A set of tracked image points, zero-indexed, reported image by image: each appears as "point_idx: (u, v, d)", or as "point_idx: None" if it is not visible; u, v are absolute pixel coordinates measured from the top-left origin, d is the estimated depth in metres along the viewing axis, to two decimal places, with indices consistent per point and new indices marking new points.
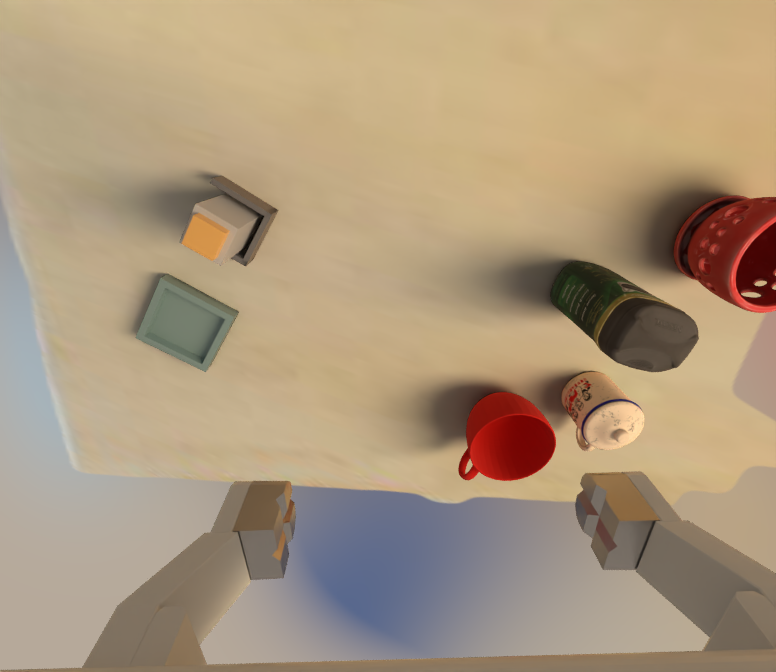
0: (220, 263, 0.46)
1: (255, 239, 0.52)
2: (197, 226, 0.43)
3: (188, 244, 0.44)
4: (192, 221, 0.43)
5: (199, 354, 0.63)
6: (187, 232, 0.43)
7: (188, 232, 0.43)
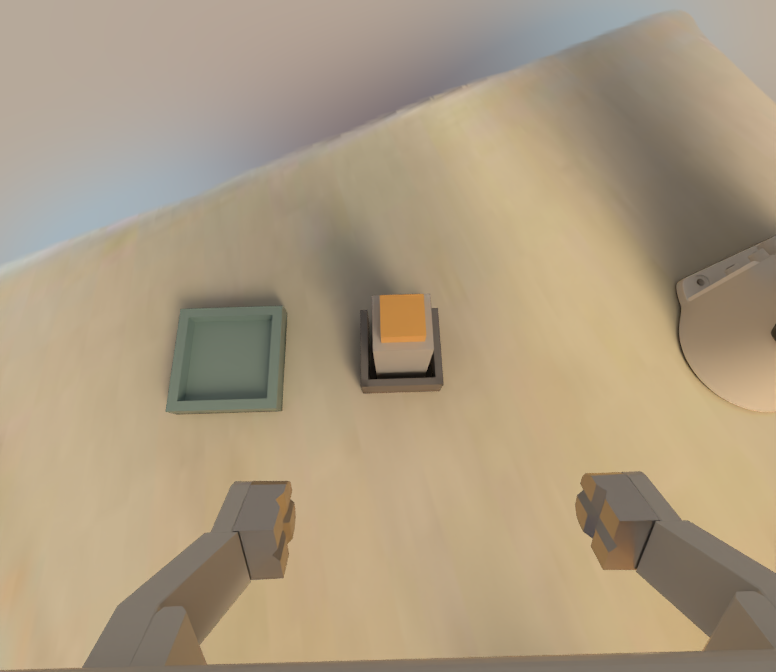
0: (375, 349, 0.33)
1: (402, 380, 0.39)
2: (413, 303, 0.32)
3: (383, 302, 0.32)
4: (415, 295, 0.33)
5: (189, 392, 0.42)
6: (398, 296, 0.33)
7: (398, 297, 0.33)
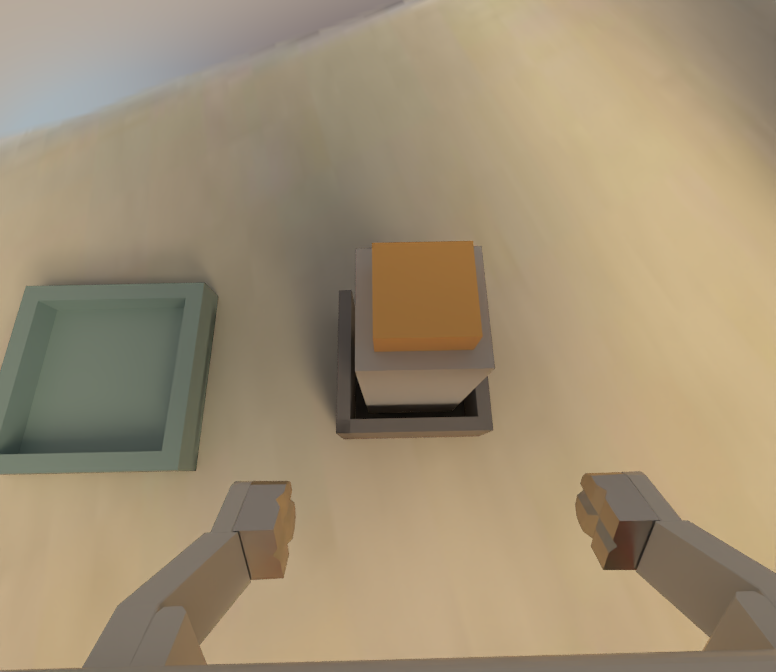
0: (361, 367, 0.14)
1: (414, 422, 0.21)
2: (449, 261, 0.14)
3: (381, 259, 0.14)
4: (453, 245, 0.14)
5: (29, 434, 0.23)
6: (414, 245, 0.14)
7: (416, 247, 0.14)
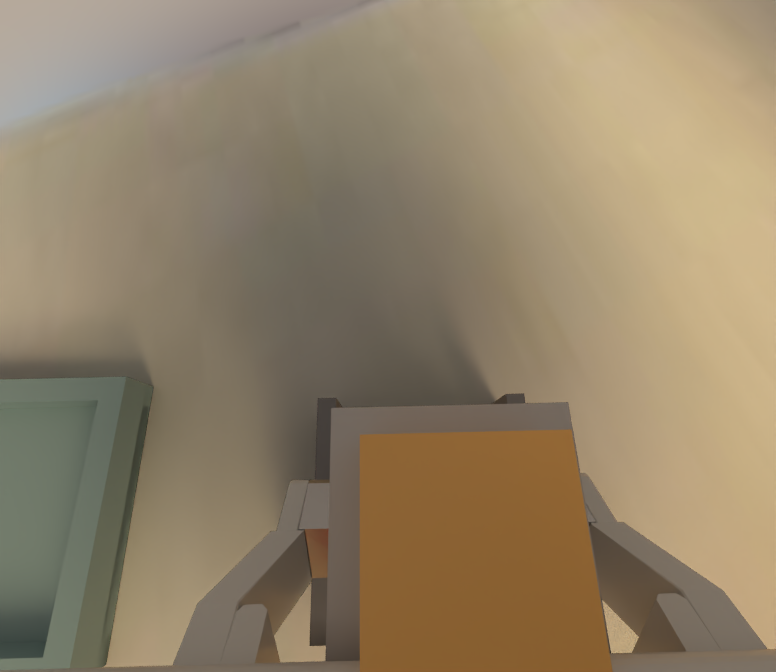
0: None
1: None
2: (524, 480, 0.07)
3: (380, 477, 0.07)
4: (531, 439, 0.07)
5: None
6: (448, 440, 0.07)
7: (452, 445, 0.07)
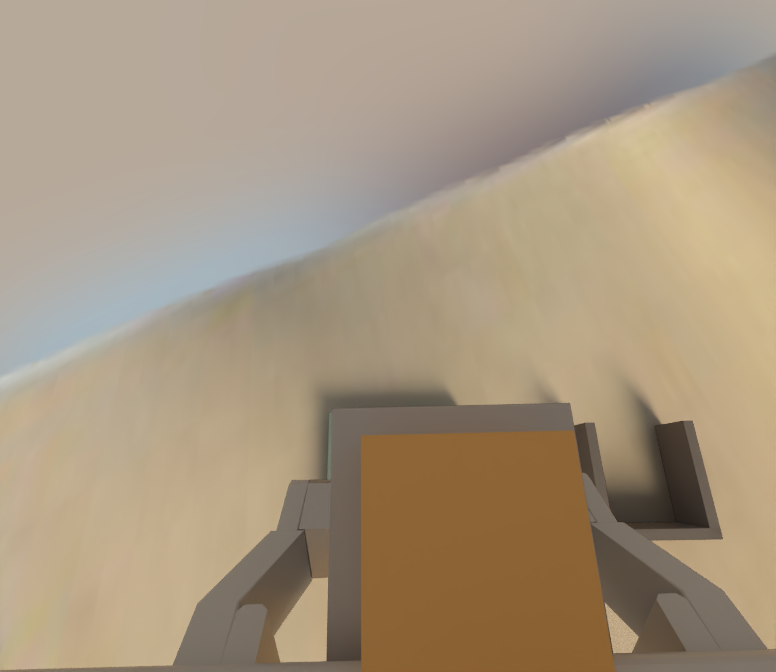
0: None
1: (662, 532, 0.28)
2: (527, 481, 0.07)
3: (381, 478, 0.07)
4: (533, 440, 0.07)
5: None
6: (450, 440, 0.07)
7: (454, 446, 0.07)
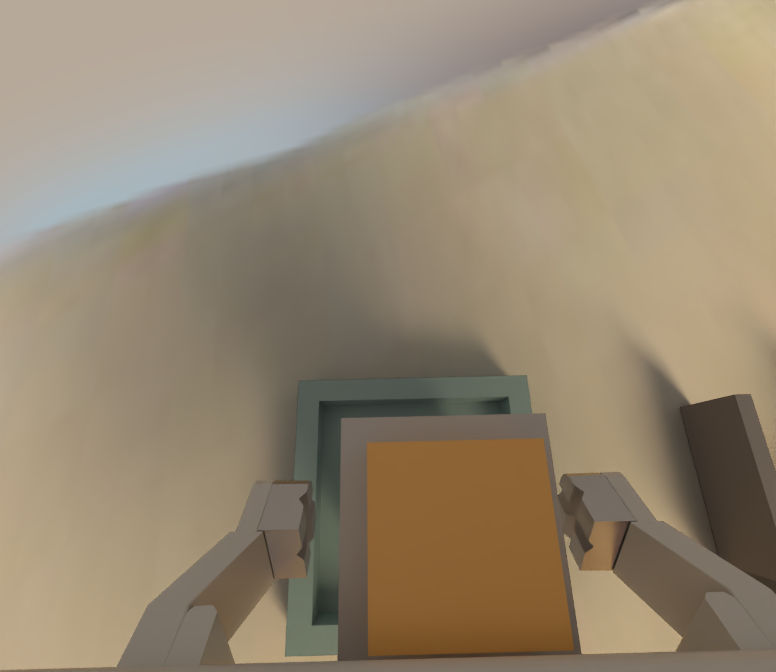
0: (349, 658, 0.08)
1: None
2: (503, 480, 0.08)
3: (384, 478, 0.08)
4: (510, 446, 0.08)
5: (326, 581, 0.18)
6: (441, 447, 0.08)
7: (444, 451, 0.08)
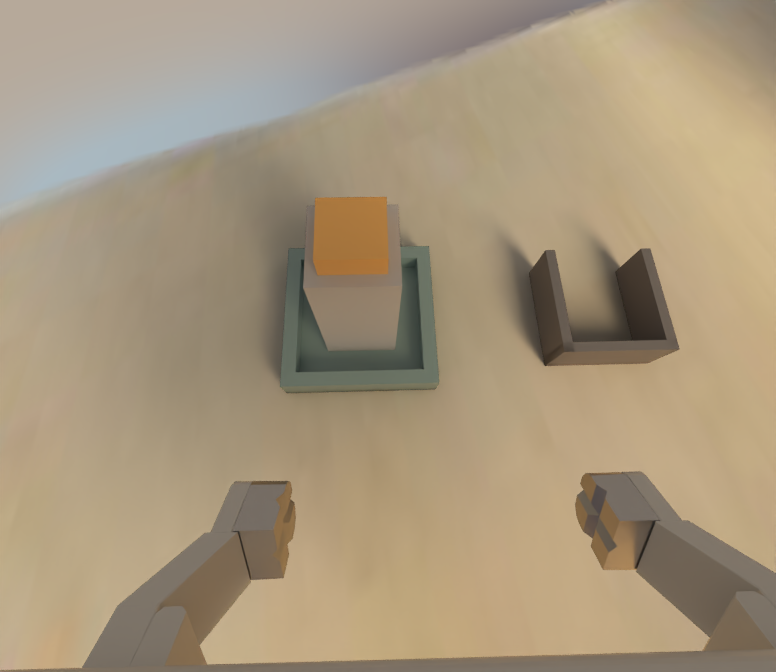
0: (307, 285, 0.20)
1: (620, 344, 0.28)
2: (368, 210, 0.20)
3: (321, 209, 0.20)
4: (372, 199, 0.20)
5: (304, 361, 0.30)
6: (345, 199, 0.20)
7: (346, 201, 0.20)
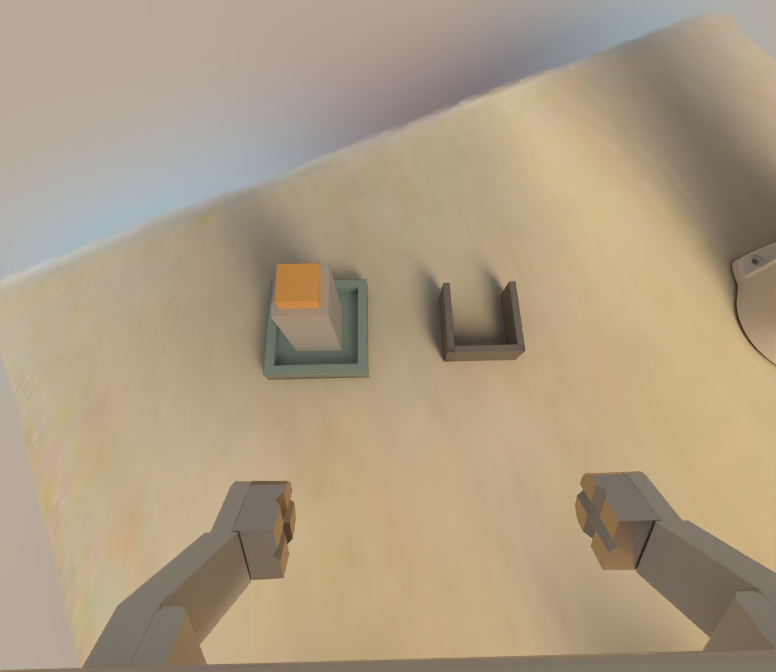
0: (273, 315, 0.35)
1: (486, 347, 0.42)
2: (308, 271, 0.35)
3: (280, 271, 0.35)
4: (310, 265, 0.35)
5: (280, 358, 0.44)
6: (294, 265, 0.35)
7: (295, 266, 0.35)
